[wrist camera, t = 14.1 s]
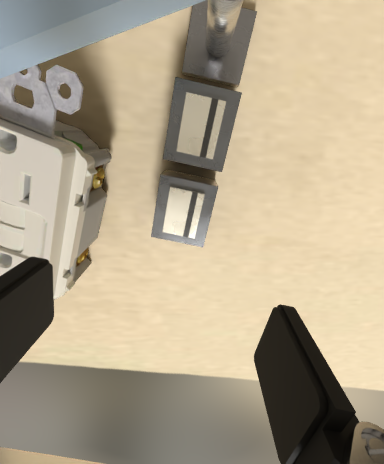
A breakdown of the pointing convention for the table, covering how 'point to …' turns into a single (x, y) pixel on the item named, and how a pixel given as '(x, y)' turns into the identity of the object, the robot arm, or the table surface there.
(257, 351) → the robot arm
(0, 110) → the electrical outlet
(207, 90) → the frame
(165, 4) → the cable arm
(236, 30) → the post
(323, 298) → the table surface
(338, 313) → the table surface
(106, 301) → the table surface
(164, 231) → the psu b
